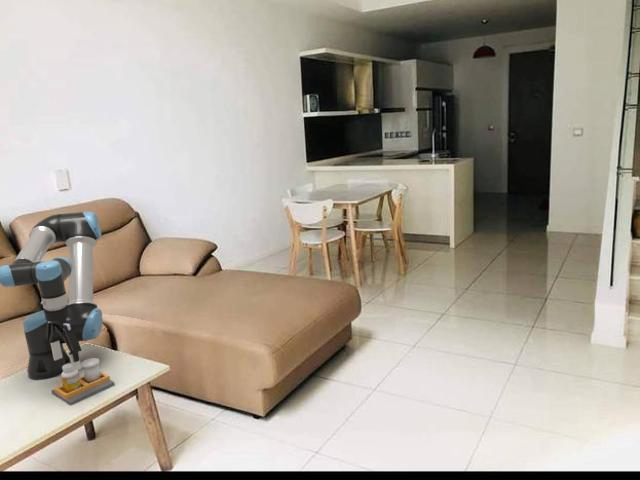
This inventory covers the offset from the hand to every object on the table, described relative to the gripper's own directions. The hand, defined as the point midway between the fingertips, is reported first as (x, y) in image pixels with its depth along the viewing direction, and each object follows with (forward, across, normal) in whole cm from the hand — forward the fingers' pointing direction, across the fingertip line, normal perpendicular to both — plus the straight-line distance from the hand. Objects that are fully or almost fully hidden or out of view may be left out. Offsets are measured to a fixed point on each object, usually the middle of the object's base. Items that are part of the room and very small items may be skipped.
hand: (67, 364), depth 180 cm
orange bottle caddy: (+11, +1, +3) cm, 12 cm away
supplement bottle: (+10, +1, 0) cm, 10 cm away
